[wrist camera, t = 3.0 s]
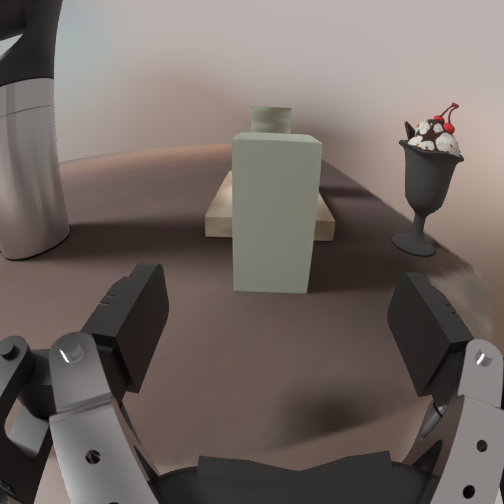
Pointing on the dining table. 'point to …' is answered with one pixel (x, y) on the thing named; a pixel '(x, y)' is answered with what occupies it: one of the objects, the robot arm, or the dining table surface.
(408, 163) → the sundae
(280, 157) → the green block
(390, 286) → the dining table surface
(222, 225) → the board
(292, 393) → the dining table surface
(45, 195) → the robot arm
